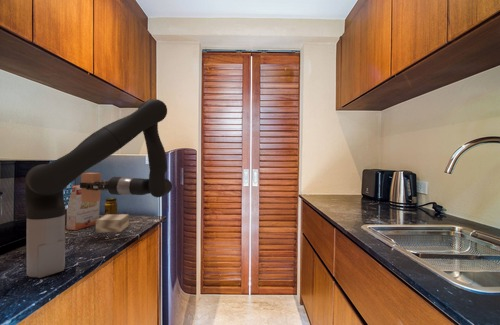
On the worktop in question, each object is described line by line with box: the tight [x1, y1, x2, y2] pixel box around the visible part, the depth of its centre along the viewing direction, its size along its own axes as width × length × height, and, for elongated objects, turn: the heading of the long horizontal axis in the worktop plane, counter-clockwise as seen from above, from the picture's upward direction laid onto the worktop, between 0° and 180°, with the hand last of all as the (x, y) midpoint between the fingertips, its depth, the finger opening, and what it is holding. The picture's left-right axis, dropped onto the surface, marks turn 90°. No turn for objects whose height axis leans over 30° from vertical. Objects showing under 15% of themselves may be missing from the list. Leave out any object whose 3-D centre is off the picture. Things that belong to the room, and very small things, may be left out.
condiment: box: [104, 197, 118, 215], centre depth 135 cm, size 7×8×12 cm
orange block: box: [80, 172, 102, 202], centre depth 104 cm, size 5×5×12 cm
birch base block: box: [95, 213, 130, 233], centre depth 119 cm, size 11×11×6 cm
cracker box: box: [65, 184, 101, 231], centre depth 122 cm, size 14×6×21 cm, turn 168°
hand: (85, 184), depth 104 cm, fingers closed on orange block, 5 cm apart
